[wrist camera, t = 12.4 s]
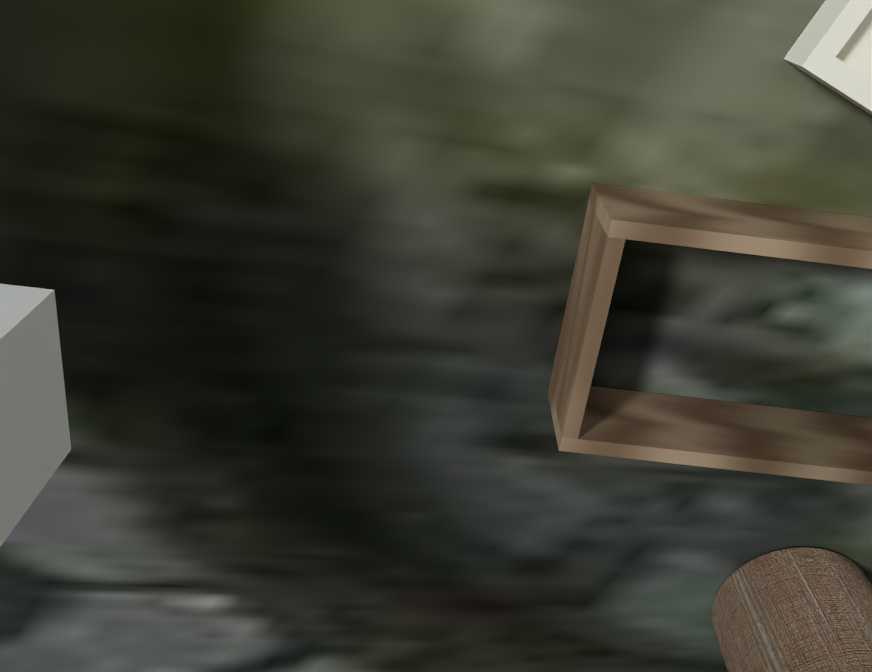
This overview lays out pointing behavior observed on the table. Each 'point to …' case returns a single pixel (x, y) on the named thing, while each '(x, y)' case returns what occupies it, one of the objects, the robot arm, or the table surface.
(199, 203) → the table surface
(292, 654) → the table surface
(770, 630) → the planter
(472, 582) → the table surface
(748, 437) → the open wooden box frame
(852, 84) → the plate
